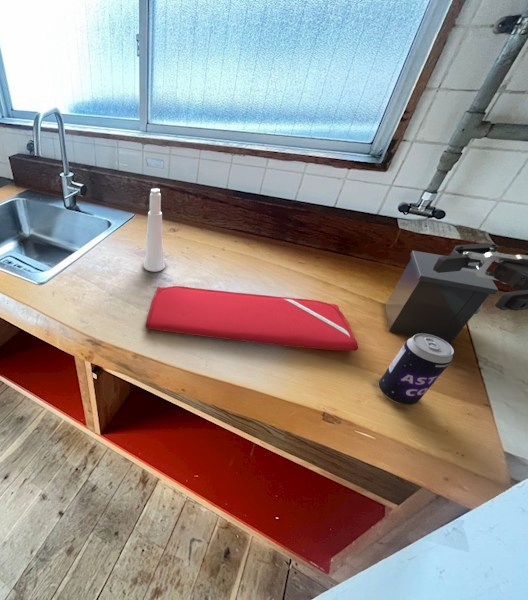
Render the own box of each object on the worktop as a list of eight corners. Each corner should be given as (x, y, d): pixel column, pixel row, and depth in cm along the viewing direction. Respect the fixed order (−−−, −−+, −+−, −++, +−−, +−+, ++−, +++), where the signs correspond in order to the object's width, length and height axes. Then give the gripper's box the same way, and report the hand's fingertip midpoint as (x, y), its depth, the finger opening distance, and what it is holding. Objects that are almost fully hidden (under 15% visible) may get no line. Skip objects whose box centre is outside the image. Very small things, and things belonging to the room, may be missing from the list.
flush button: (471, 308, 64) (480, 297, 62) (475, 316, 62) (484, 305, 60) (453, 305, 65) (461, 294, 64) (456, 312, 63) (465, 301, 62)
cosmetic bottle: (139, 265, 93) (138, 189, 80) (156, 259, 96) (157, 184, 82) (152, 274, 89) (152, 195, 76) (169, 267, 92) (172, 190, 78)
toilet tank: (441, 316, 71) (480, 261, 62) (452, 347, 63) (498, 290, 55) (382, 303, 75) (412, 250, 67) (386, 331, 68) (420, 275, 59)
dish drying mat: (157, 290, 82) (157, 278, 80) (333, 310, 74) (338, 297, 72) (145, 331, 70) (145, 318, 68) (353, 360, 62) (361, 346, 59)
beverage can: (382, 403, 54) (418, 354, 47) (372, 377, 58) (404, 328, 51) (421, 411, 53) (465, 361, 45) (409, 384, 57) (446, 335, 50)
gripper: (539, 222, 46) (434, 231, 44) (691, 274, 34) (555, 288, 33) (504, 267, 50) (408, 277, 49) (628, 327, 39) (506, 341, 38)
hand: (467, 281), depth 41 cm, fingers open, 8 cm apart
